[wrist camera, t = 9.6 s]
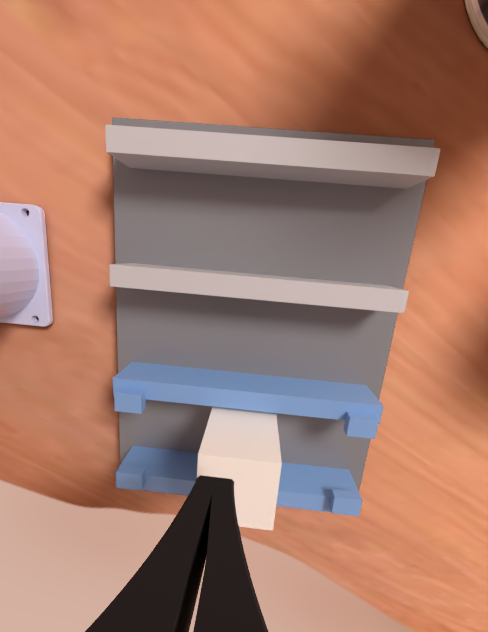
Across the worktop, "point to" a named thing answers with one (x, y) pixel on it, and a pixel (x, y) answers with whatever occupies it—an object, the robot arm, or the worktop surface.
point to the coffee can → (479, 18)
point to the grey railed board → (258, 294)
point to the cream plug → (244, 461)
